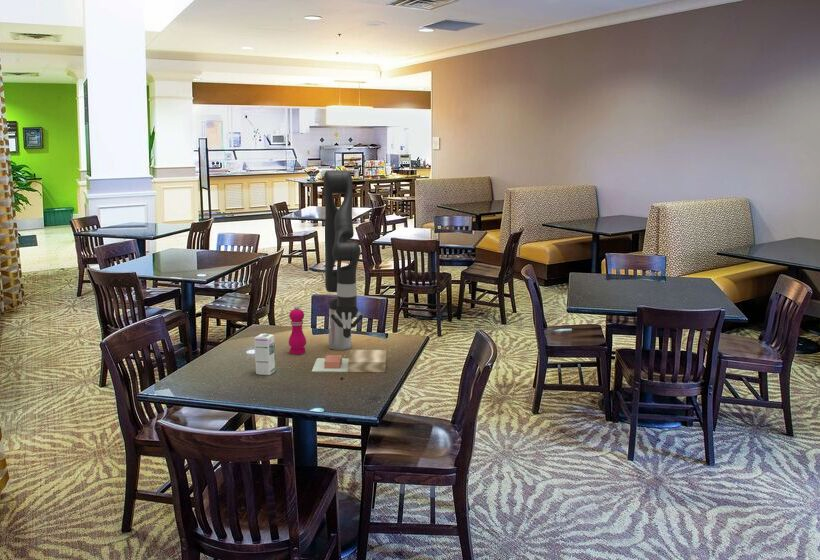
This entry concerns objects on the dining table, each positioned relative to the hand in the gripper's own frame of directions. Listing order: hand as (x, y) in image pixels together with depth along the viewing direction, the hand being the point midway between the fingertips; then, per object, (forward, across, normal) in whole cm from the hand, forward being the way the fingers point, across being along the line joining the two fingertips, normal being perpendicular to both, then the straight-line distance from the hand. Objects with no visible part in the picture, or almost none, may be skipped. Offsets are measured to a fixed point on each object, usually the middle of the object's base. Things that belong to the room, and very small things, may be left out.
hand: (347, 337), depth 267 cm
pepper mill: (+12, -22, +16) cm, 30 cm away
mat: (+11, -6, -1) cm, 13 cm away
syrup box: (+11, -30, -10) cm, 33 cm away
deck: (+11, +8, -1) cm, 14 cm away
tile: (+10, -5, -1) cm, 11 cm away
